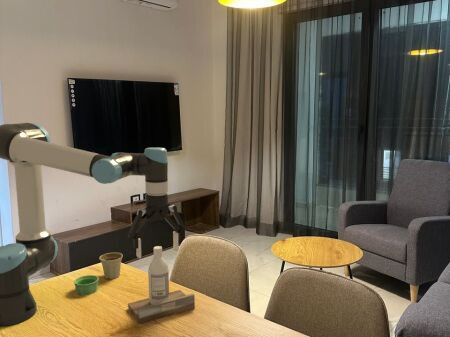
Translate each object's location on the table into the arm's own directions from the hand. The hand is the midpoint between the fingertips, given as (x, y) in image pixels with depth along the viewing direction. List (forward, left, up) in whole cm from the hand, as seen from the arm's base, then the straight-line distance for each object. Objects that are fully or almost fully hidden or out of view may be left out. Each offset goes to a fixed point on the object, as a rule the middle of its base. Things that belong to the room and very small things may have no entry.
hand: (157, 253), depth 137 cm
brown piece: (+1, 0, -20) cm, 20 cm away
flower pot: (-36, -7, -20) cm, 42 cm away
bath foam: (0, 0, -18) cm, 18 cm away
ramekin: (-28, -19, -20) cm, 39 cm away
